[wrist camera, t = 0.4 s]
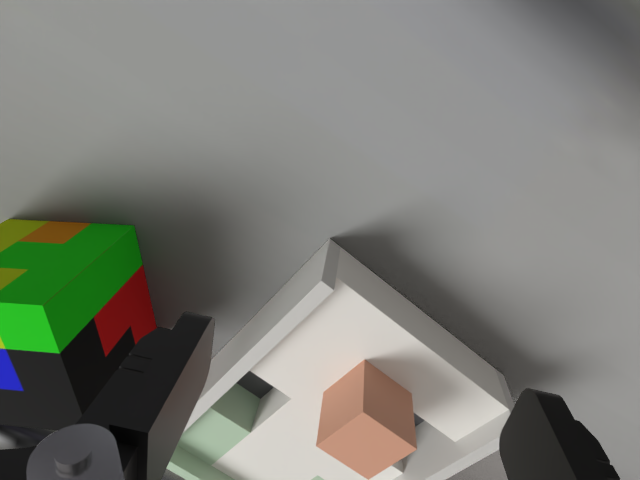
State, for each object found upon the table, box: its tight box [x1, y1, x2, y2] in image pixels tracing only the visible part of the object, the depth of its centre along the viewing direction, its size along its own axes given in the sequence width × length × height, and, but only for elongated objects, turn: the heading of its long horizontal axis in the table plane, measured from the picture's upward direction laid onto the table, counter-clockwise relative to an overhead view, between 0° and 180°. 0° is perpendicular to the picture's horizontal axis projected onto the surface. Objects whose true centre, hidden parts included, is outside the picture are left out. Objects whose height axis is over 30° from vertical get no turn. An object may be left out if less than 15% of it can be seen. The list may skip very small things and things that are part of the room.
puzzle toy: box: [0, 219, 157, 430], centre depth 30 cm, size 10×10×10 cm
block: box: [316, 359, 417, 480], centre depth 29 cm, size 4×4×4 cm
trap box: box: [167, 239, 514, 480], centre depth 35 cm, size 23×18×6 cm
